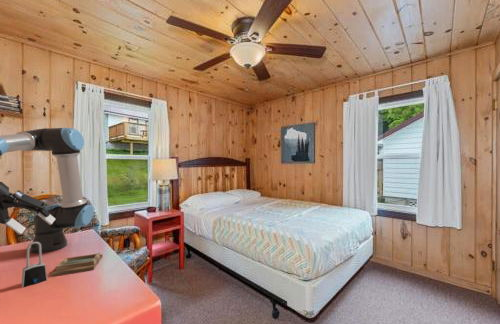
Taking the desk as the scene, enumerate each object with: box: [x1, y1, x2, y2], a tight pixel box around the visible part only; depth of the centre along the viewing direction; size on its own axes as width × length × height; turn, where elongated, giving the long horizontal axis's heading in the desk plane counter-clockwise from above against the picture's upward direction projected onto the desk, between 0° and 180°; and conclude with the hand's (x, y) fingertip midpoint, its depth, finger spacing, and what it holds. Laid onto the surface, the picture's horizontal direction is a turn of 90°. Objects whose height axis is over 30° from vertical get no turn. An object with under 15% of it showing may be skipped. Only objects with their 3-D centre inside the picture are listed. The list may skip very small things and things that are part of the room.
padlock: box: [20, 241, 48, 288], centre depth 86 cm, size 7×4×15 cm, turn 140°
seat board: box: [51, 252, 103, 278], centre depth 99 cm, size 15×14×3 cm
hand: (37, 226), depth 90 cm, fingers open, 13 cm apart
